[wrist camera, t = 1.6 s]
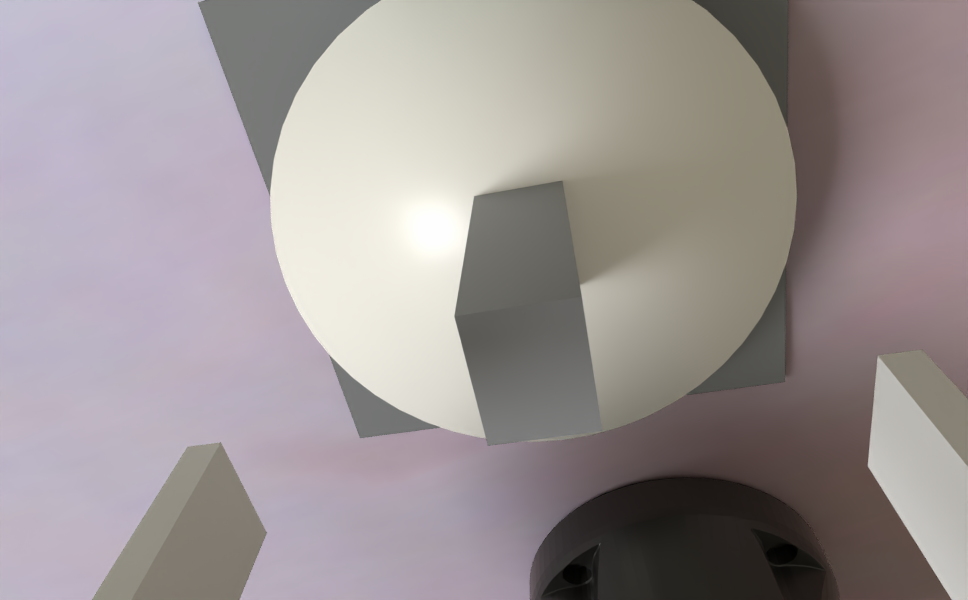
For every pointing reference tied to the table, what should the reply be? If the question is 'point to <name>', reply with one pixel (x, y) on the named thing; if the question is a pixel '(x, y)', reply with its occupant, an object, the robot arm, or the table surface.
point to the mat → (338, 3)
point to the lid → (533, 208)
